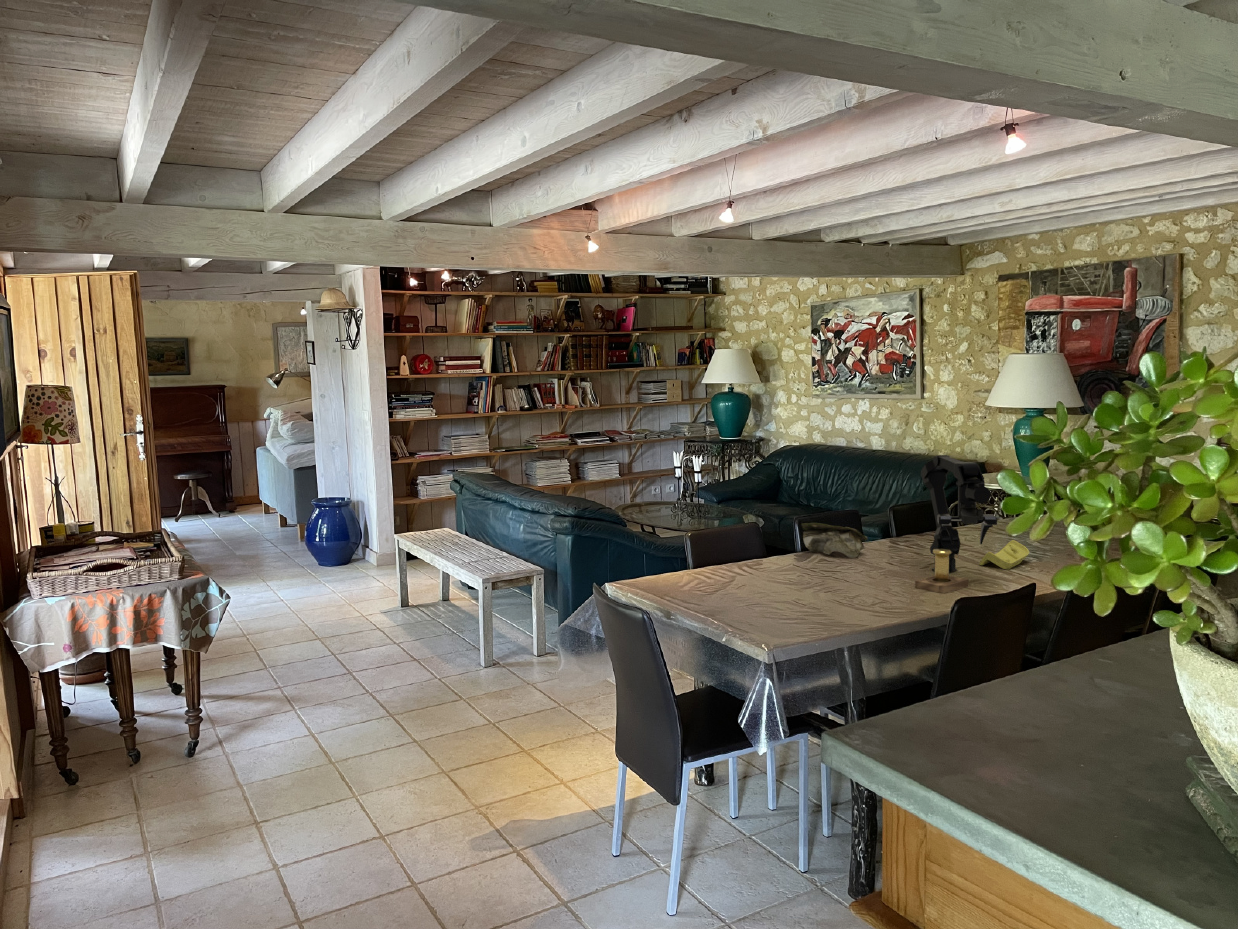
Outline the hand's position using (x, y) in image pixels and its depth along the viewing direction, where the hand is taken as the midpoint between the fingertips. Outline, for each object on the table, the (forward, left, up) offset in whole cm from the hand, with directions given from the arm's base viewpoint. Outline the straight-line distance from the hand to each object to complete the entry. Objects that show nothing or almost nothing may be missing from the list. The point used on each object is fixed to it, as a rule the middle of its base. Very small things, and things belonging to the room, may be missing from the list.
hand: (966, 544), depth 308 cm
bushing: (-1, -13, -13) cm, 18 cm away
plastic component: (-5, +33, -13) cm, 36 cm away
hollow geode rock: (-62, +3, -13) cm, 64 cm away
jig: (-1, -13, -13) cm, 18 cm away
